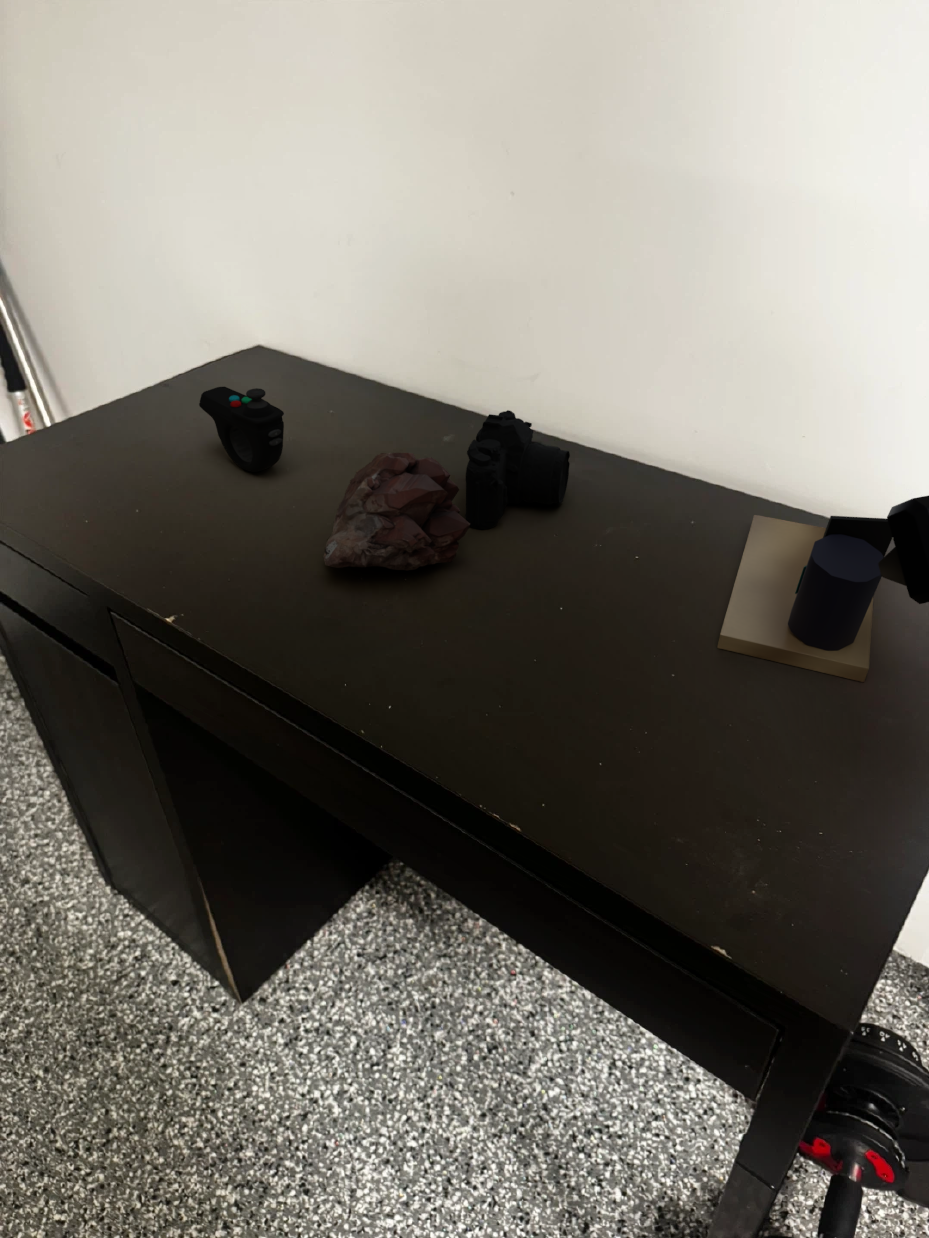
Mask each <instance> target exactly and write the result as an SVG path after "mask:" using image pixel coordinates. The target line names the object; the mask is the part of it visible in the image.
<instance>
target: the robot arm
mask: <svg viewBox="0 0 929 1238" xmlns="http://www.w3.org/2000/svg"><path fill="white" fill-rule="evenodd" d="M886 519H888V523H889V526H890V530H891V533H892V537H893V538H892V540H893V544H894V547H893V548H892V549H891V550H889V552H888V553H886V554H885V556H884V558H883V559H881V560H880V561H879V563H878V566H879V569H880V573H881V576H882V577H881V578H883V579H886V580H889V581H891V582H894V583H897V584H899V585H902V586H905V587H906V590H907V594H908V597H909V598H910V599H912V600H913V601H914V602H915V603H917V604H919V605H923V604H927V603H929V495H924V496H918V497H912V498H911V499H907V500H906V501H902V502H900V503H897V504H896V505H893V506H891V508H890V510H889V512H888V514H887V516H886Z"/></svg>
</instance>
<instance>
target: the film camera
mask: <svg viewBox="0 0 929 1238" xmlns="http://www.w3.org/2000/svg"><path fill="white" fill-rule="evenodd" d="M532 425H533V424H532V422H529V421H524V420H523V419H521V418H518V417H516V414H515V413H514V412H513V411H512V410H510V409H507V410H505V411H501V412H499V413H498V414H490V413H489V414H488V415H487V417H486V419H485V421H483V422H482V427H481V428H480V429H479V430H478V432H477V433H476V436H475V439H473V440H472V441H471V442H470V444H469V446H468V448H467V450H466V454H467V457H468V459H469V460H468V462H467V465H466V467H465V468H466V469H465V475H464V476H465V514H464V519H465V520H466V521H468V522H469V523H470V526H469V527H471V528H473V529H479V530H490V529H492V528H494V527H496V526H497V523H498V522H499V520H500V519H501V518H502V517H503V516H504V513H503V512H504V509H505V508H506V506H507V505H509V504H515V505H520V503H521V502H523V501H524V502H525V503H537V504H543V505H553V504H562V503H563V501H564V498H565V495H566V491H567V488H568V481H569V474H570V465H571V463H570V461H569V459H570V457H571V454H570V453H571V452H570V450H563V449H561V448H560V447H559V446H553V445H543V444H541V443H539V442H533V438H534V436H533V435H534V429H533V428H531V427H532Z"/></svg>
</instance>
